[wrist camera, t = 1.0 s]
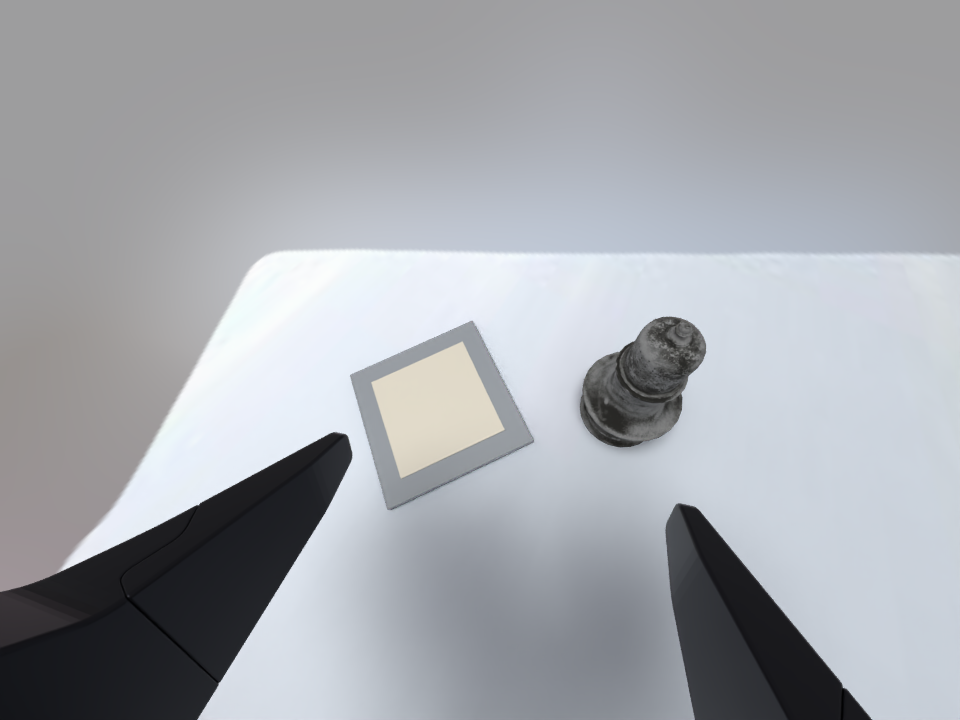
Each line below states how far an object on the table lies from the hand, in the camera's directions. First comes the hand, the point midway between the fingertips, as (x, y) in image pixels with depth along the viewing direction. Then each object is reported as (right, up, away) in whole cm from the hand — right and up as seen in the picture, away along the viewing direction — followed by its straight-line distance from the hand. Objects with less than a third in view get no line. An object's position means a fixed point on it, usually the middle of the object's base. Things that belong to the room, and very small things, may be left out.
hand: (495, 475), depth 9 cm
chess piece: (+10, -1, +15) cm, 18 cm away
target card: (-4, -1, +17) cm, 17 cm away
